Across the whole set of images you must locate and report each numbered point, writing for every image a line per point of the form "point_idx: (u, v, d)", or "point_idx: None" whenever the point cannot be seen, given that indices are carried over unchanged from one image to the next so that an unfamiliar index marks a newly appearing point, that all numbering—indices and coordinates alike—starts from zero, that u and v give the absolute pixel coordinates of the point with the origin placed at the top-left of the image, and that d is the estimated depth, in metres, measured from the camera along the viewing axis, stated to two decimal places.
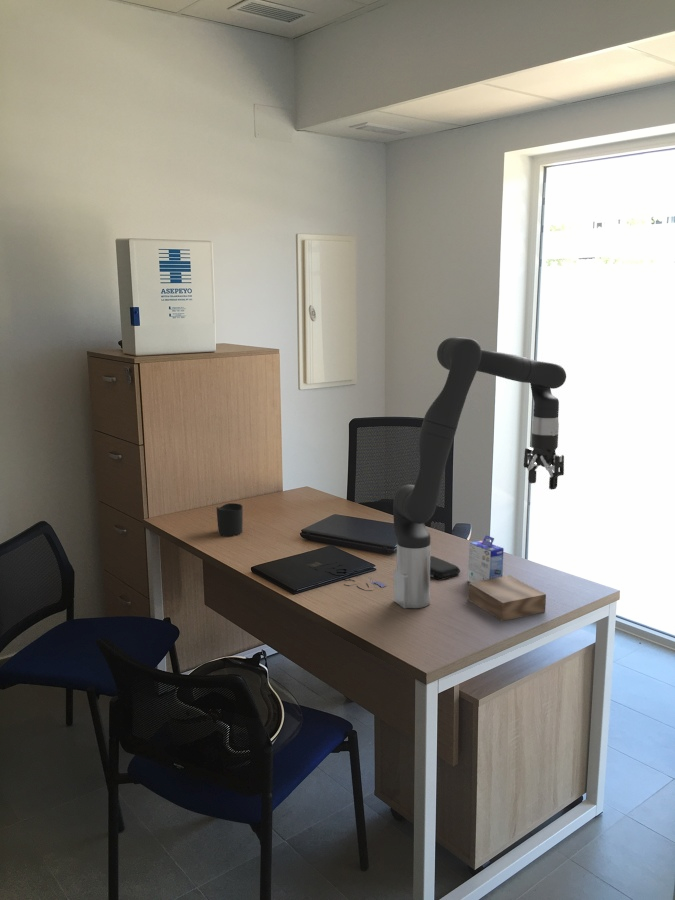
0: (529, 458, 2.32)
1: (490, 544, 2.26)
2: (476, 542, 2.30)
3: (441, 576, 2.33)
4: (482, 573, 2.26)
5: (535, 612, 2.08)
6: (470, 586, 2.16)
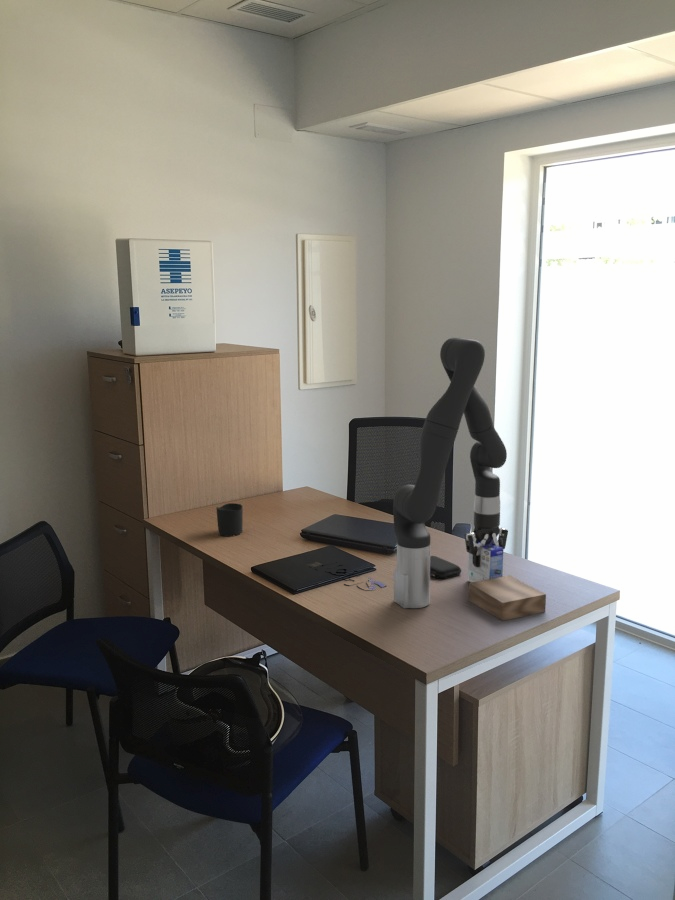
0: None
1: (490, 544, 2.26)
2: None
3: (442, 575, 2.33)
4: (482, 573, 2.26)
5: (535, 612, 2.08)
6: (470, 586, 2.16)
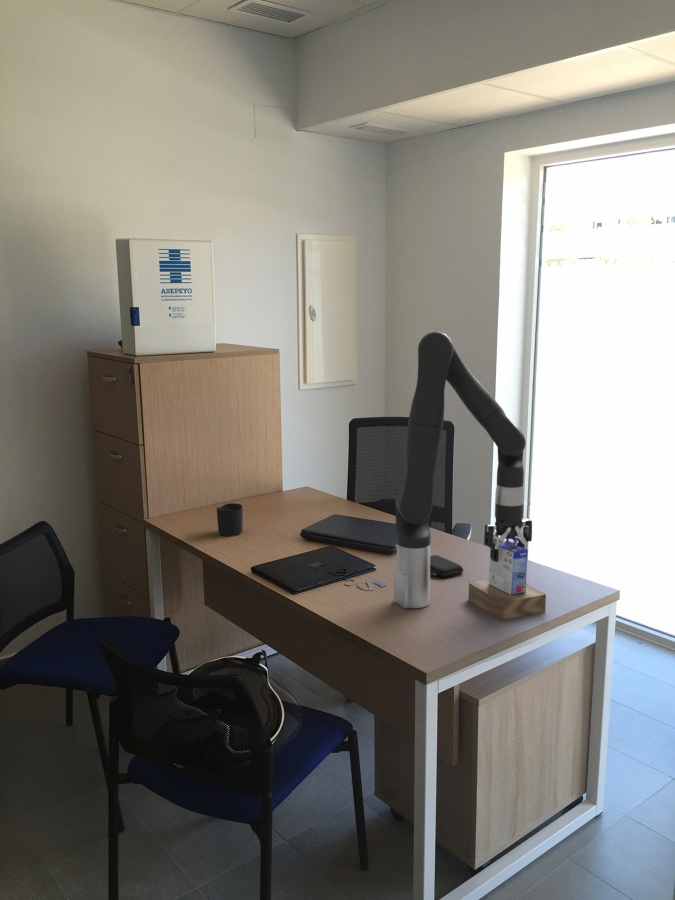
0: None
1: (513, 545, 2.09)
2: None
3: (444, 575, 2.34)
4: (504, 576, 2.09)
5: (535, 612, 2.08)
6: (470, 586, 2.16)
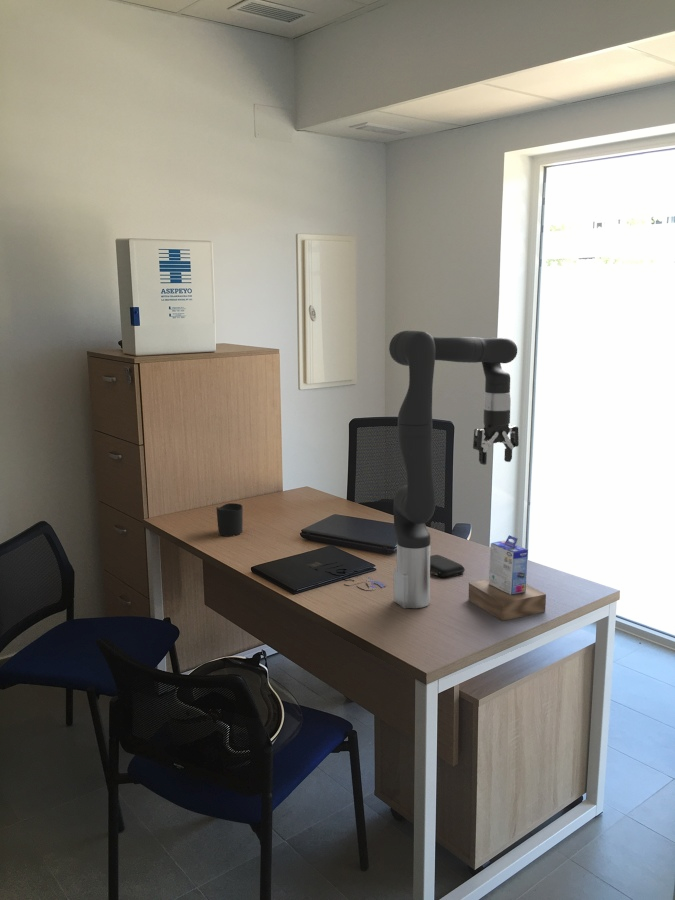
0: None
1: (513, 545, 2.09)
2: (499, 542, 2.13)
3: (445, 574, 2.34)
4: (504, 576, 2.09)
5: (535, 612, 2.08)
6: (470, 586, 2.16)
